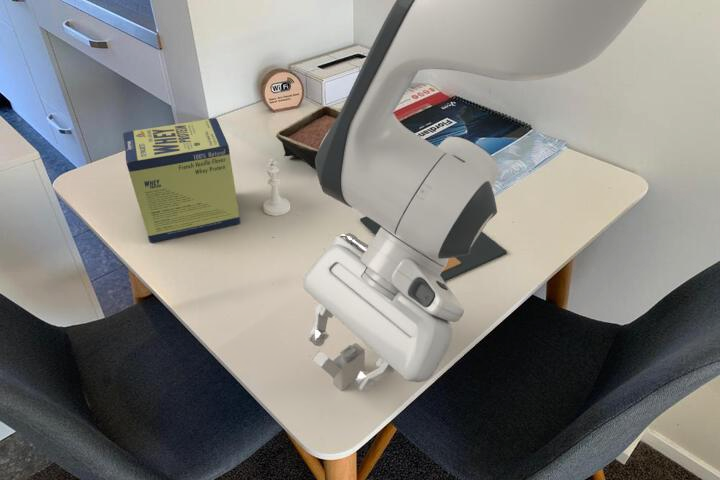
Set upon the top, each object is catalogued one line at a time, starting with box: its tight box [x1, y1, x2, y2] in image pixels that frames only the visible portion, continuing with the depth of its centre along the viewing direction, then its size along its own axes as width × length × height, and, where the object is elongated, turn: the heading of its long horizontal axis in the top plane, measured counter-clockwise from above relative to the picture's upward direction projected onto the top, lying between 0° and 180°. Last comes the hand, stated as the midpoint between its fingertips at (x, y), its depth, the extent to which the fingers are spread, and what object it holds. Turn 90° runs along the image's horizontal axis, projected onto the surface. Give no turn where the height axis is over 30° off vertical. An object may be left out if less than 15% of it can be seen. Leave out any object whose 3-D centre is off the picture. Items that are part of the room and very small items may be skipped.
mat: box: [359, 216, 508, 283], centre depth 89 cm, size 20×16×1 cm
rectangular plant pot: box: [275, 105, 341, 171], centre depth 107 cm, size 14×18×10 cm
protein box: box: [122, 117, 241, 244], centre depth 88 cm, size 10×16×16 cm
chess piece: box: [262, 158, 291, 217], centre depth 92 cm, size 5×5×10 cm
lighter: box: [312, 342, 366, 391], centre depth 63 cm, size 7×2×8 cm, turn 135°
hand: (336, 364), depth 62 cm, fingers open, 7 cm apart
